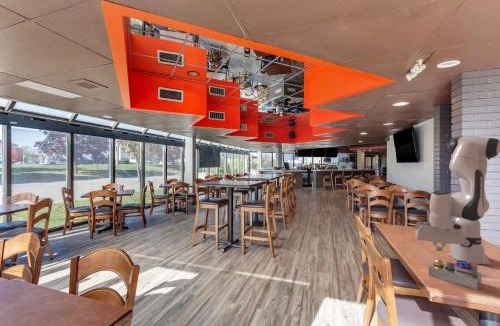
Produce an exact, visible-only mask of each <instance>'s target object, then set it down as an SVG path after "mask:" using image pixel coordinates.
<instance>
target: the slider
mask: <svg viewBox="0 0 500 326" xmlns="http://www.w3.org/2000/svg"><path fill="white" fill-rule="evenodd" d="M471 265H472V276H477V275H478V273H479V271H478V265H479V264H476V263H473V264H472V263H471Z"/></svg>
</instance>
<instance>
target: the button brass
mask: <svg viewBox="0 0 500 326" xmlns="http://www.w3.org/2000/svg"><path fill="white" fill-rule="evenodd" d="M434 262H435V266H436V267H440V268H443V264H444V260H442V259H439V258H436V259H435V260H434Z"/></svg>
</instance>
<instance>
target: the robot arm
mask: <svg viewBox="0 0 500 326" xmlns="http://www.w3.org/2000/svg"><path fill="white" fill-rule="evenodd" d="M447 148H448V152H449V153H450V154H451V158H450V160H449V164H448V165H449V166H448V167H449V170H450V172H451V174H453V175H455V176H456V177H459V179H458V183H459V185H460V190H461V191H458V192H457V191H456V192H453V193H452V194H451V193H450V191H446V190H435V191H432V192H431V194H430V199H429V216H428V222H427V221H418V222H416V223H415V228H416V229H415V232H414V233H415V235H414V236H415V238H416V239H417V240H418V241H426V242H432V244H433V246H434V250H435V251H437V252H443V251H444V248H445V247H446V245H447V244H450V252H447V254H446V255H447V256H448V257H451V258H453V259H454V260H456V261H457V260H464V261H467V262H469V263H471V265H472V264H473V263H476V264H478V265H487V266H490V265H491V262H490V259H489V257H488V255H487V254H486V253H485V248H484V246H483V245H482V243H483V242H482V241H483V240H482V237H481V222H480V221H479V220H480V219H482V218H483V217H484V216H485V213H486V212H488V210H489V209H490V203H489V200H488V199H487V196H486V190H485V189H486V188H485V181H486V176H487V170H488V161H489V160H491V159H492V158H496V157H497V156H499V154H500V140H499V138H496V137H495V138H494V137H482V136H481V137H479V136H471V137H469V136H467V137H460V136H459V137H455V138H451V140H449V142H448V145H447ZM452 217H454V221H453V220H452ZM438 243H440V245H439V246H437V244H438Z"/></svg>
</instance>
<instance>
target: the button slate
mask: <svg viewBox="0 0 500 326" xmlns="http://www.w3.org/2000/svg"><path fill="white" fill-rule="evenodd" d="M445 264H446V269H448V270H451V271H454V266H455V263H454V262H452V261H446V262H445Z"/></svg>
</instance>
